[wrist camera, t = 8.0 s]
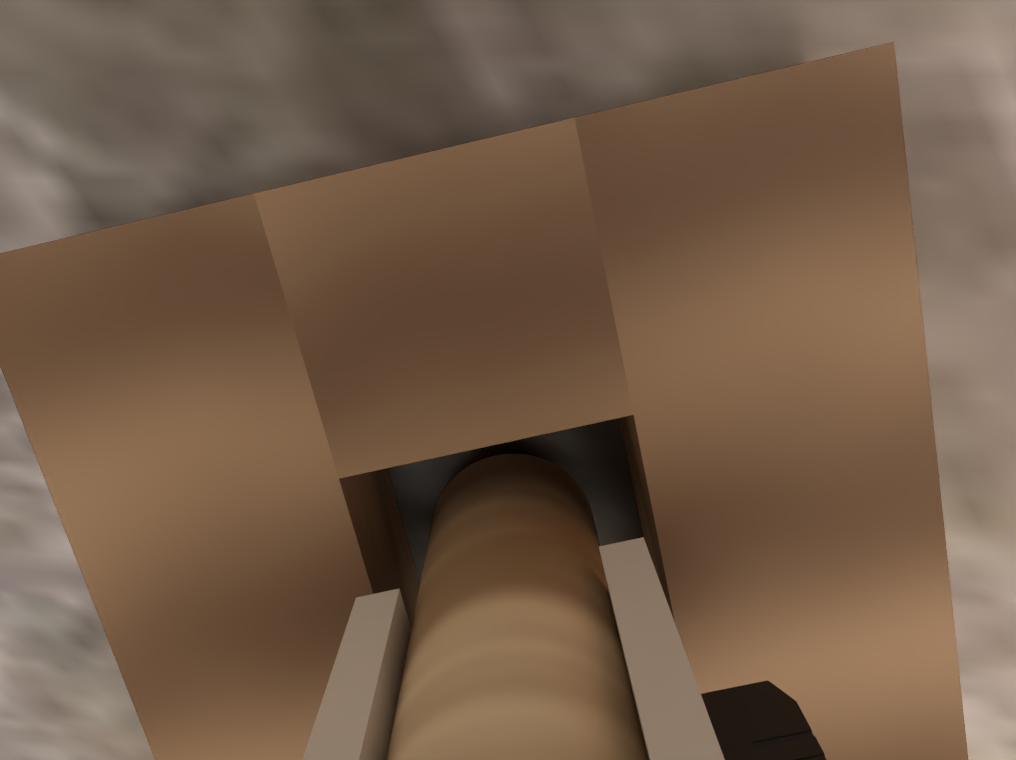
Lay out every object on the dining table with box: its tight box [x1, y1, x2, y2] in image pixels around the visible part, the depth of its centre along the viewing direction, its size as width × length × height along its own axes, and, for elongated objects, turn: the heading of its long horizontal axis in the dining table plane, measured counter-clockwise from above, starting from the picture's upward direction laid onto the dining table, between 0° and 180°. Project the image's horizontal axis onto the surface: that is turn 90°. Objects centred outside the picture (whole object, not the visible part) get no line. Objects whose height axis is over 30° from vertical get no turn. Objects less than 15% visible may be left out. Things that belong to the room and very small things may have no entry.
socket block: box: [0, 42, 968, 760], centre depth 18 cm, size 16×16×4 cm
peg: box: [387, 454, 649, 760], centre depth 13 cm, size 4×4×12 cm
